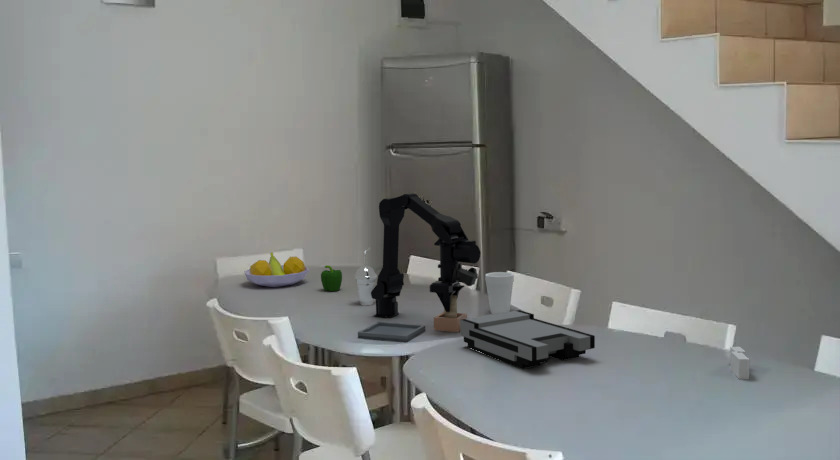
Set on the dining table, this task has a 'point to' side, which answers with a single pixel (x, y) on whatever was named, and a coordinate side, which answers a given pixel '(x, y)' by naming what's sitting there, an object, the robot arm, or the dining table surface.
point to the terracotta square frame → (448, 322)
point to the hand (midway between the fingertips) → (450, 310)
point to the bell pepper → (331, 279)
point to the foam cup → (499, 291)
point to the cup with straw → (365, 282)
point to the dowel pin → (452, 308)
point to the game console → (523, 338)
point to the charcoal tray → (391, 331)
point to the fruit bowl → (276, 272)
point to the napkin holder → (739, 363)
